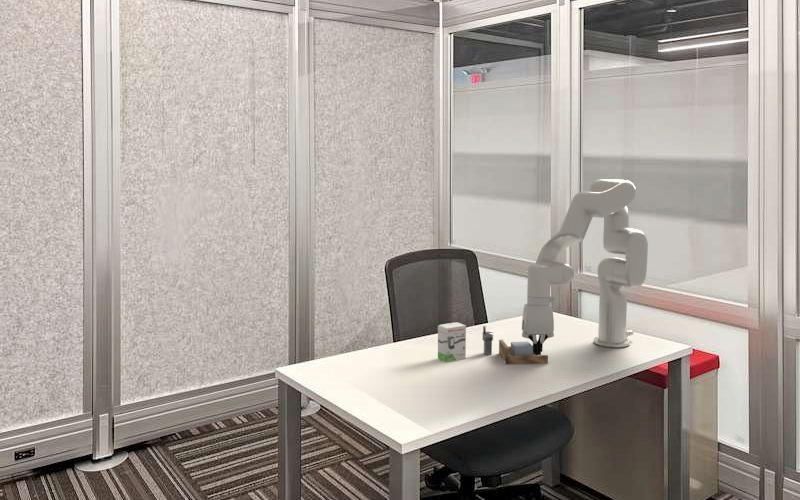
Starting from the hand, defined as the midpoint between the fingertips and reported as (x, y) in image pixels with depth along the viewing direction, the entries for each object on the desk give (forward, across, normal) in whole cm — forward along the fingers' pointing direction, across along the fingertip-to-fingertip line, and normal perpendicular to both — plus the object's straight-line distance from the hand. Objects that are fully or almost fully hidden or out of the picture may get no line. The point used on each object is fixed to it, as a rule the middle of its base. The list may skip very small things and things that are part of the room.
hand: (537, 353), depth 227 cm
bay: (+2, +5, 0) cm, 5 cm away
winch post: (+2, +16, -6) cm, 17 cm away
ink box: (+2, +29, -1) cm, 29 cm away
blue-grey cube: (+2, +5, 0) cm, 6 cm away
